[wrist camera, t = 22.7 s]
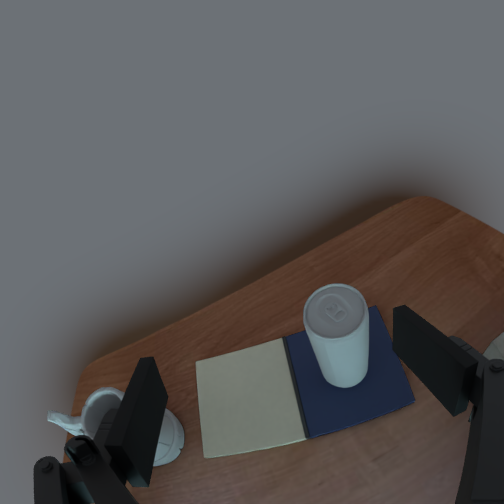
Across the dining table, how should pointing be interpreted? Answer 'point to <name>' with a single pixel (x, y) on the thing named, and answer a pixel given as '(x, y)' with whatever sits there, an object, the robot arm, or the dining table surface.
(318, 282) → the dining table surface
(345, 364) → the beverage can
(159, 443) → the mug
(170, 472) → the dining table surface
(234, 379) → the board
